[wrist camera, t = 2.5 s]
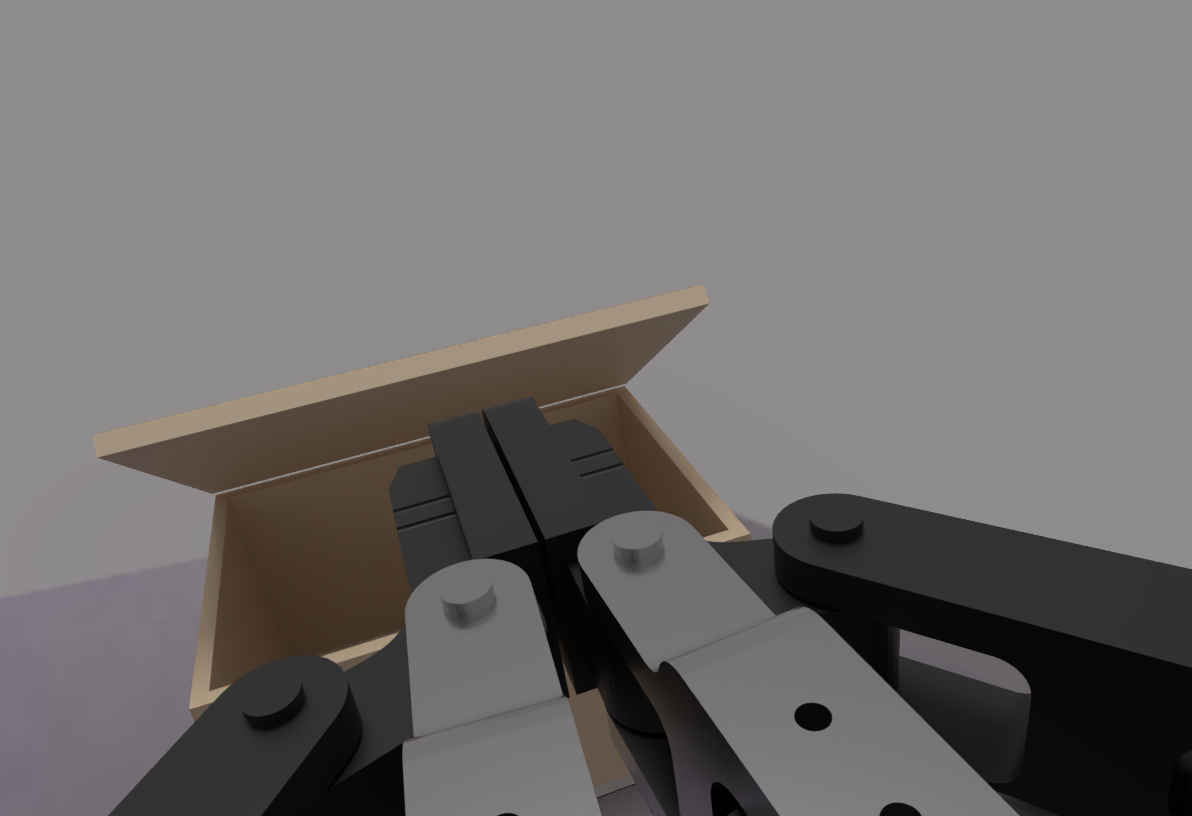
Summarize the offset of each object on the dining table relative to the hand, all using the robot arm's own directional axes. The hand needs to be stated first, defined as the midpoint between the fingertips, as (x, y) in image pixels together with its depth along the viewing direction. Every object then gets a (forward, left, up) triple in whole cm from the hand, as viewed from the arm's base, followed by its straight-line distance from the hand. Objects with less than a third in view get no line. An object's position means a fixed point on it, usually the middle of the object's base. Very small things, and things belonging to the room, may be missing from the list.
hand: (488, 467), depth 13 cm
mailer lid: (0, +17, -7) cm, 18 cm away
